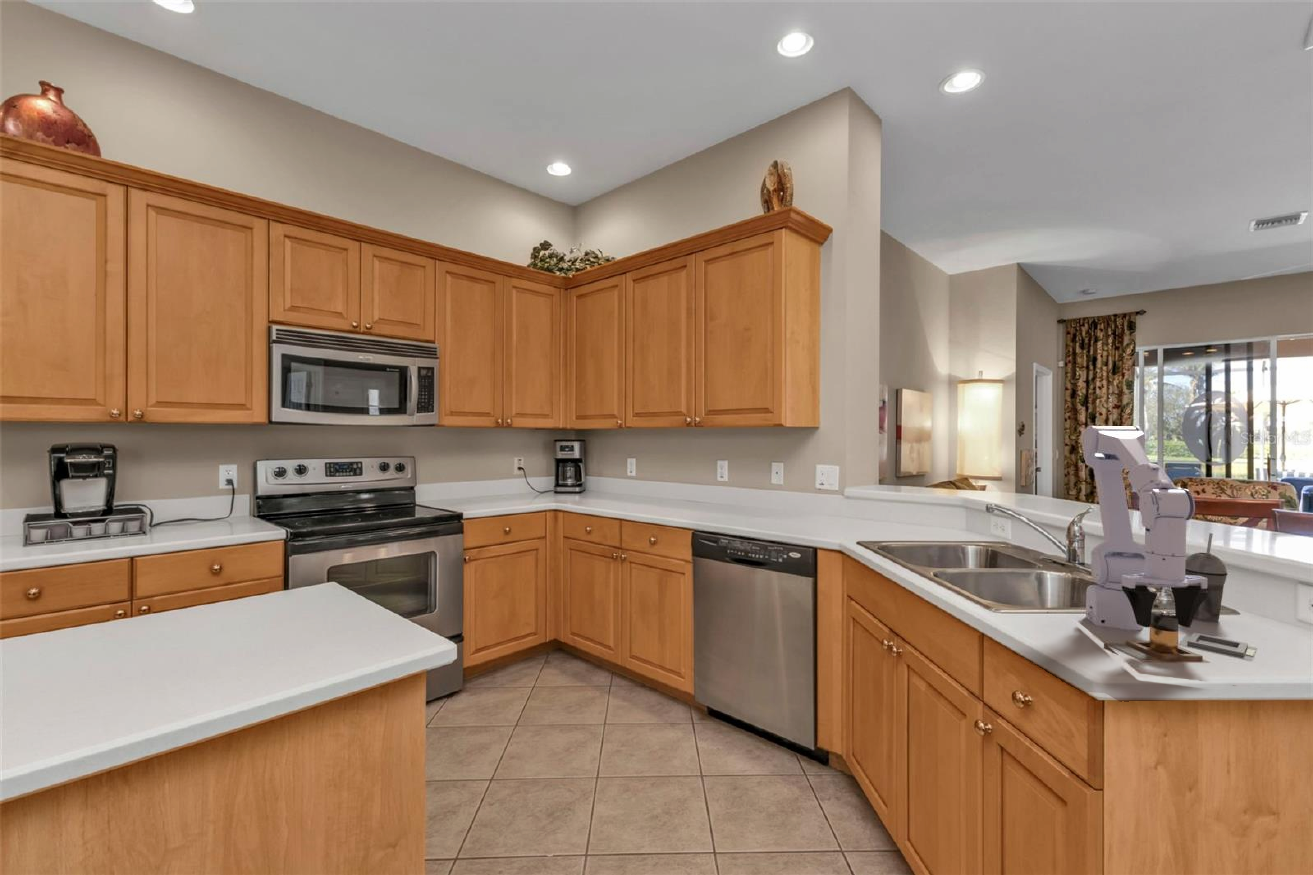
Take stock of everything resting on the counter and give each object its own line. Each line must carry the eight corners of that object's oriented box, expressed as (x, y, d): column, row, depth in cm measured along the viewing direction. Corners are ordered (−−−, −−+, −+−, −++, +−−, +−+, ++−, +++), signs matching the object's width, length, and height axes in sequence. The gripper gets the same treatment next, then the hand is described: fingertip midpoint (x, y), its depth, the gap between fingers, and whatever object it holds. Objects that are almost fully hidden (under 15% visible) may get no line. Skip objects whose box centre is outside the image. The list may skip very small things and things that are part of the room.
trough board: (1143, 667, 102) (1144, 657, 102) (1103, 648, 111) (1104, 639, 111) (1210, 667, 102) (1210, 657, 102) (1164, 648, 111) (1164, 639, 111)
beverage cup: (1172, 617, 131) (1174, 529, 130) (1207, 618, 130) (1208, 530, 130) (1199, 628, 123) (1201, 535, 123) (1236, 629, 123) (1238, 536, 122)
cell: (1155, 655, 105) (1156, 614, 105) (1145, 647, 109) (1145, 607, 109) (1182, 658, 104) (1183, 616, 104) (1171, 650, 108) (1171, 610, 108)
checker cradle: (1252, 666, 103) (1252, 656, 103) (1177, 650, 111) (1177, 640, 111) (1257, 653, 109) (1257, 643, 109) (1186, 638, 117) (1186, 629, 117)
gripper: (1145, 558, 102) (1143, 633, 103) (1224, 558, 103) (1222, 633, 103) (1113, 549, 109) (1111, 620, 110) (1187, 549, 110) (1186, 620, 110)
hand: (1163, 625), depth 107 cm, fingers open, 7 cm apart
